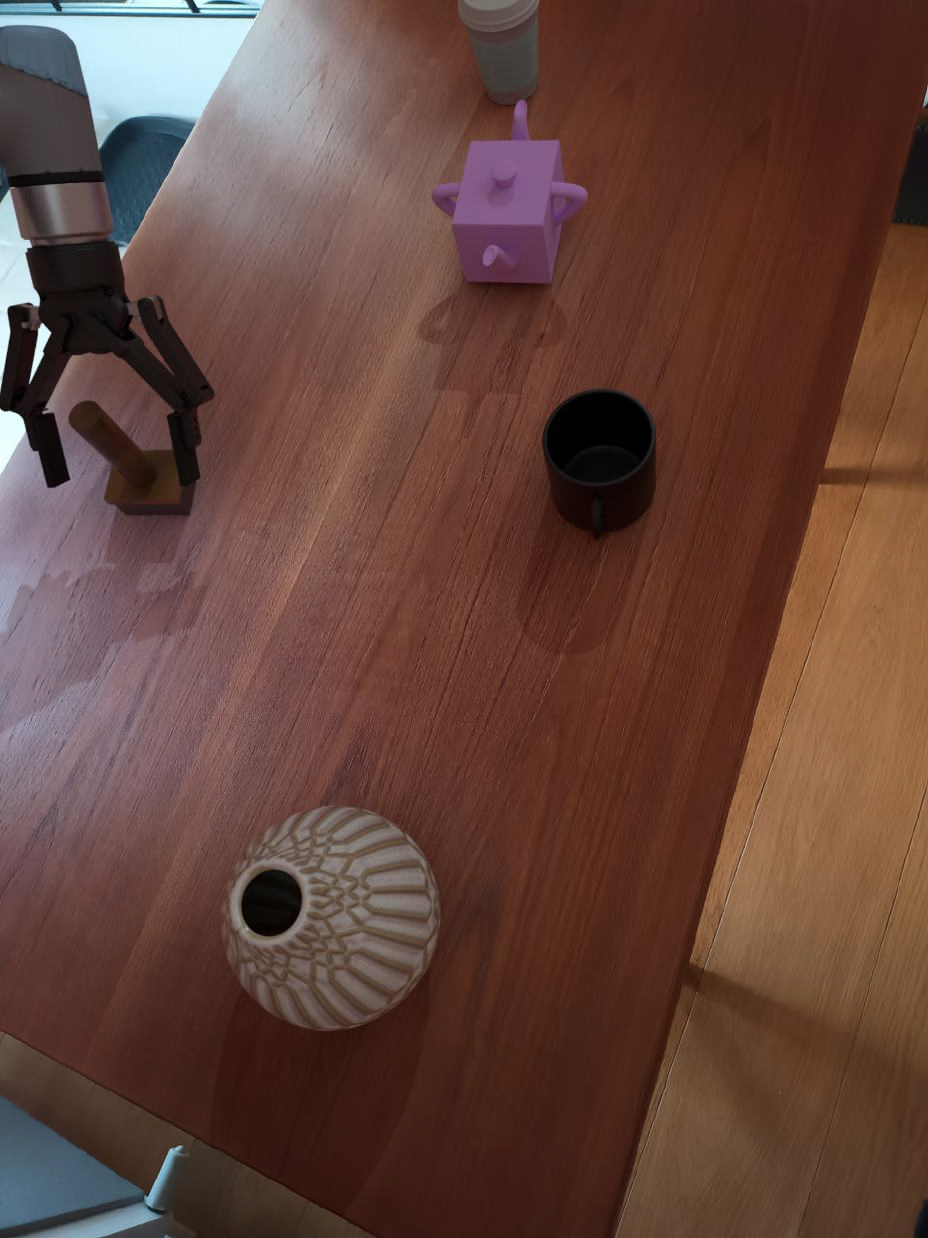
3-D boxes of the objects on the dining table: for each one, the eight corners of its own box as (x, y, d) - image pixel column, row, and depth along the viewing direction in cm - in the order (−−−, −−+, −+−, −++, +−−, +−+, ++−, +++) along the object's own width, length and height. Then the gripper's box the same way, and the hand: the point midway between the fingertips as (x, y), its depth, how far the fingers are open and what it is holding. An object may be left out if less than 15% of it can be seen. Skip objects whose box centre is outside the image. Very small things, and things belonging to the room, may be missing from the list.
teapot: (614, 263, 96) (609, 179, 86) (501, 332, 96) (483, 256, 86) (534, 174, 102) (521, 86, 92) (428, 238, 102) (403, 157, 92)
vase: (498, 927, 75) (445, 912, 57) (348, 1071, 74) (243, 1103, 56) (375, 782, 82) (291, 725, 63) (234, 912, 80) (106, 893, 62)
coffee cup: (516, 46, 109) (500, -59, 98) (565, 81, 106) (555, -24, 95) (459, 90, 108) (437, -11, 97) (507, 126, 105) (491, 26, 94)
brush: (123, 517, 96) (38, 442, 83) (134, 470, 98) (53, 389, 85) (191, 516, 95) (116, 440, 81) (200, 468, 97) (129, 386, 83)
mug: (546, 559, 86) (535, 514, 78) (555, 442, 90) (545, 388, 82) (652, 561, 84) (652, 515, 76) (657, 442, 88) (657, 386, 80)
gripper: (225, 229, 82) (263, 470, 90) (-30, 246, 87) (29, 473, 95) (186, 233, 75) (231, 493, 84) (-88, 252, 80) (-19, 496, 89)
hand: (124, 483), depth 90 cm, fingers open, 13 cm apart
